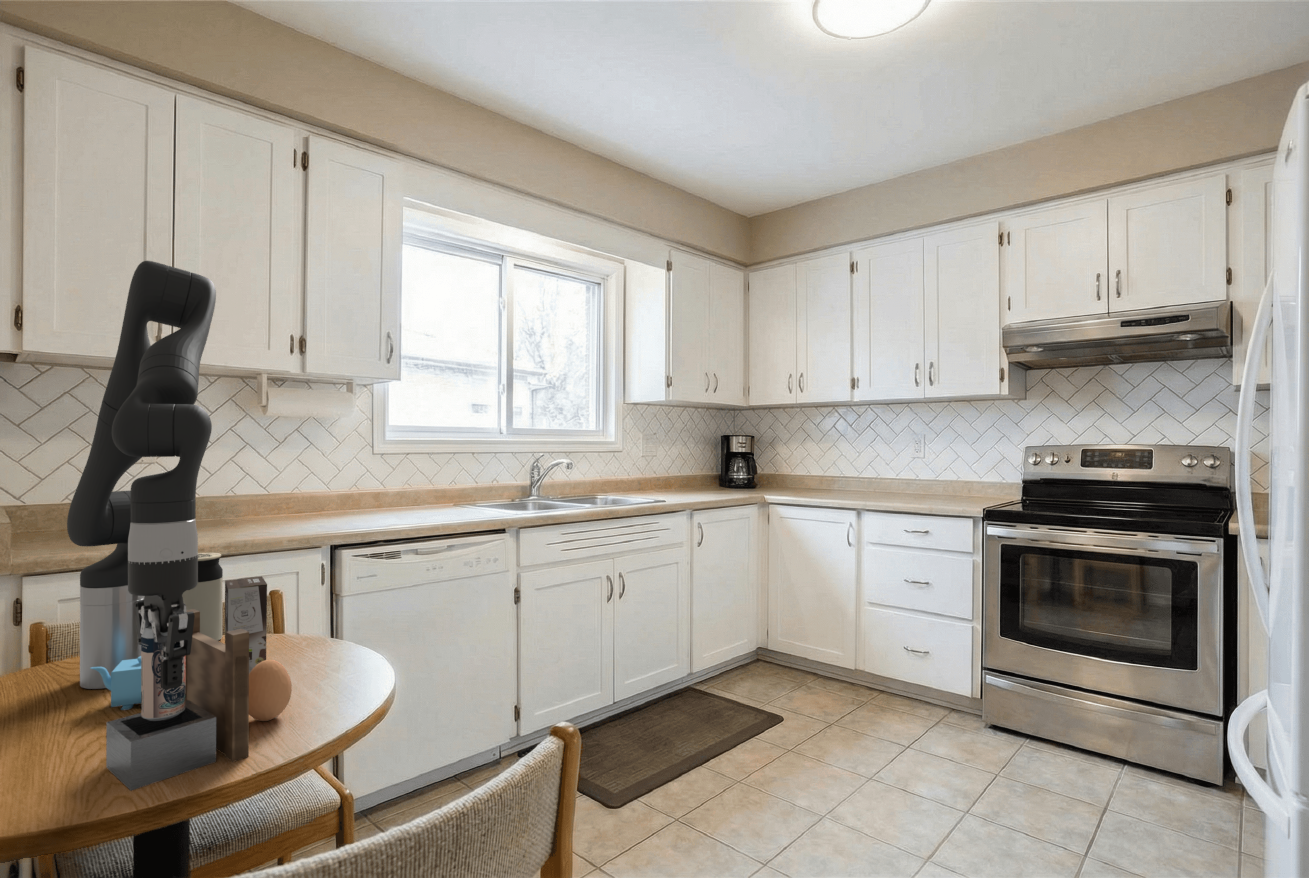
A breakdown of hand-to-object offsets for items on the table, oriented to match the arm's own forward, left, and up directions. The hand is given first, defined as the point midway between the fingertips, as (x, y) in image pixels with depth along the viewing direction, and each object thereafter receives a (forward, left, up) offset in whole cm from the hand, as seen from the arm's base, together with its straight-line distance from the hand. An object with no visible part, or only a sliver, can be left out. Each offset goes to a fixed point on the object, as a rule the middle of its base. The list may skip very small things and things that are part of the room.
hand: (163, 682), depth 91 cm
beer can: (0, 0, -5) cm, 5 cm away
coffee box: (-31, +23, -11) cm, 40 cm away
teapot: (-27, +5, -11) cm, 30 cm away
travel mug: (-55, +24, -11) cm, 61 cm away
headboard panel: (-3, +7, -11) cm, 13 cm away
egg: (-4, +15, -11) cm, 19 cm away
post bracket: (0, 0, -11) cm, 11 cm away
